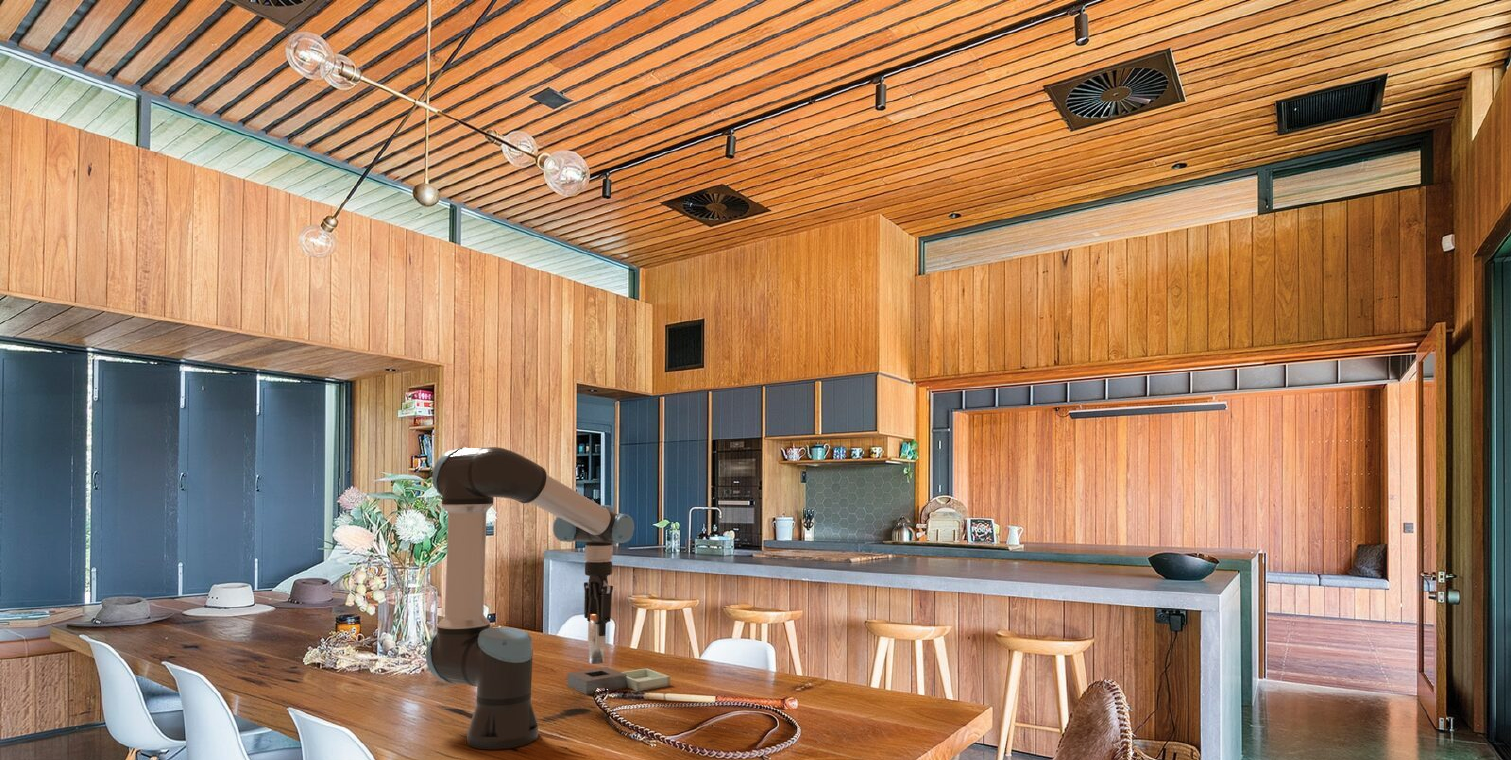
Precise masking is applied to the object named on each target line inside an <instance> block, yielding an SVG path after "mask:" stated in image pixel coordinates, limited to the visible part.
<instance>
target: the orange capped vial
mask: <svg viewBox="0 0 1511 760" xmlns="http://www.w3.org/2000/svg"><path fill="white" fill-rule="evenodd" d="M595 622H598V621H597V613H592V614H590V636H589V646H588V663H589V664H591V665H592V664H593V665H599V664H603V663H604V656H605V655H604V654H605V652H604V651H605V650H604V649H605V648H599V649H596V648H595V637H596V624H595Z"/></svg>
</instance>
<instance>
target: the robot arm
mask: <svg viewBox="0 0 1511 760" xmlns="http://www.w3.org/2000/svg"><path fill="white" fill-rule="evenodd" d="M431 476H432V477H431V480H432V485H433V488H434V489H436V492H437V493H438V494H439V495H440V496H441V507H443V509H445V510H446V512H447V514H448V515H447V538H446V539H447V542H446V543H447V545H446V567H445V568H446V571H445V572H446V573H445V577H446V578H445V600H444V617H443V618H442V619H441V620H440V621H439V622H438V623H437V629H436V631H435V633H433V635H432V636H431V640H429V641H428V643H427V646H426V649H425V650H426V651H425V662H426V665H427V668H428V671H429V672H430V673H431V674H432V675H433V676H434V677H435V678H436V679H438V680H441V681H444V682H446V683H448V684H453V685H456V684H457V685H458V684H459V685H463V686H469V687H476V705H475V708H474V711H473V714H472V716H471V721H470V723H469V727H468V729H467V733H466V734H467V735H466V744H467V746H469V747H471V748H474V749H478V750H494V751H495V750H506V749H512V748H513V749H514V748H518V747H523V746H526V745H528V744H531V743H532V742H534V741H536V740H537V739H538V738H539V724H538V721H537V718H536V714H535V711H534V708H533V705H532V704H533V703H532V678H533V657H534V656H533V655H534V654H533V653H534V650H533V644H532V643H533V642H532V641H533V640H532V637H531V635H530V634H529V633H528V632H527V631H526V630H525V631H524V630H522V629H519V628H515V627H503V626H500V627H499V626H498V627H497V626H495V627H491V622H490V620H489V619H488V618H487V617H486V616H485V615H484V609H485V607H484V605H485V573H486V544H487V542H486V541H487V540H486V539H487V536H486V535H487V512H488V510H489V509H491V508H492V507H493V506H494V500H495V499H494V498H504V499H510V500H513V501H517V502H519V503H520V504H524V505H526V504H527V505H528V504H532V505H534V506H537V507H538V508H540V509H542V510H544V511H546V512H547V513H549V514H552V515H553V516H556V518H555V519H554V521H553V527H552V531H553V535H554V536H555V538H556V539H557V540H558V541H560V542H567V543H571V542H585V549H584V550H585V551H584V560H586V561H585V563H584V574H585V576H588V578H589V579H588V581H585V582H583V588H584V589H583V590H584V612H583V613H584V614H583V616H584V619H586V620H587V622H588V624H587V625H588V626H587V646H588V647H589V636H590V614H592V613H597V621H598V622H595V624H596V637H595V648H596V649H599V648H604V649H605V648H606V640H607V639H606V635H607V634H606V633H607V624H608V623H610V622H611V621H612V620H611V616H612V615H611V614H612V596H613V595H612V594H613V589H614V586H613V585H609V581H608V576H611V575H612V573H613V562H612V561H611V560H612V559H613V552H614V548H613V544H624V543H627V542H629V541H631V539H632V538H633V535H634V531H635V522H634V520H633V518H632V517H631V516H630V515H629V514H627V513H621V512H620V513H614V508H613V507H612V506H611V505H605V504H603V505H602V504H601V505H600V504H598V503H596V502H595V501H593V500H592V499H590V498H588V497H586V496H584V495H583V494H581V493H579V492H578V491H576V490H575V489H572V488H571V487H569V486H567V485H565V484H564V483H562V482H561V481H559V480H557V479H555V478H553V477H551V476H550V475H548V474H547V471H546V469H545V468H544V467H543V466H541V465H540V464H538V463H536V462H534V461H532V460H530V459H529V458H527V457H525V456H523V455H521V454H519V453H516V452H515V451H512V450H509V449H506V448H504V447H498V446H491V447H490V446H489V447H460V448H455V449H451V450H448V451H446V452H444V453H443V454H442V455H441V456H440V457H439V458H438V460H437V461H436V462H435V464H434V467H433V471H432V475H431Z"/></svg>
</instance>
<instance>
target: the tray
mask: <svg viewBox="0 0 1511 760" xmlns="http://www.w3.org/2000/svg"><path fill="white" fill-rule="evenodd" d="M621 673H624V674H626V675H627V688H628V689H630V690H632V691H633V690H634V691H635V692H642V691H649V690H655V689H659V688H667V687H670V686H671V676H670V675H667V674H664V673H661V672H659V671H656V670H652V669H649V668H641V669H634V670H628V671H627V670H626V671H621Z"/></svg>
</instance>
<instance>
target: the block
mask: <svg viewBox="0 0 1511 760" xmlns="http://www.w3.org/2000/svg"><path fill="white" fill-rule="evenodd" d="M621 672H622V671H621ZM621 672H620V671H618V670H616V669H613V668H610V667H607V666H604V667H598V668H592V669H585V670H578V671H573V672H568V673H567V684H566V685H567V687H569V688H571V689H573V690H575V691H577V692H580V693H582V694H584V695H592V694H593V695H594V694H595V693H594V691H595V689H597V688H606V689H608V690H610V691H616V690H621V689H623V690H624V689H626V688H628V687H627V675H626V674H624V673H621Z"/></svg>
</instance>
